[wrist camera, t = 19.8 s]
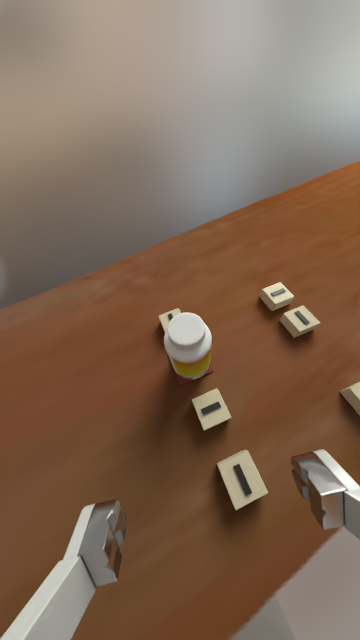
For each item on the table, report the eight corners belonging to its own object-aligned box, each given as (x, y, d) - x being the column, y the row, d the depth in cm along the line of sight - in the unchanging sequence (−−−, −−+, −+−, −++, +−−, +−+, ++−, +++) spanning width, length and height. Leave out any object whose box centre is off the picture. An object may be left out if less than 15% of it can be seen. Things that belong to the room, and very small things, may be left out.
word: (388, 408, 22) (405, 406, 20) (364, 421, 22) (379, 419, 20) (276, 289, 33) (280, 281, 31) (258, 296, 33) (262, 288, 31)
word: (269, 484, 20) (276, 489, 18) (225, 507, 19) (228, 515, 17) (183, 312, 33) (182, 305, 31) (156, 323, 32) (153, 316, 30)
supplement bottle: (217, 365, 27) (225, 331, 18) (187, 388, 25) (179, 364, 17) (194, 338, 29) (190, 298, 21) (165, 358, 28) (149, 324, 20)
